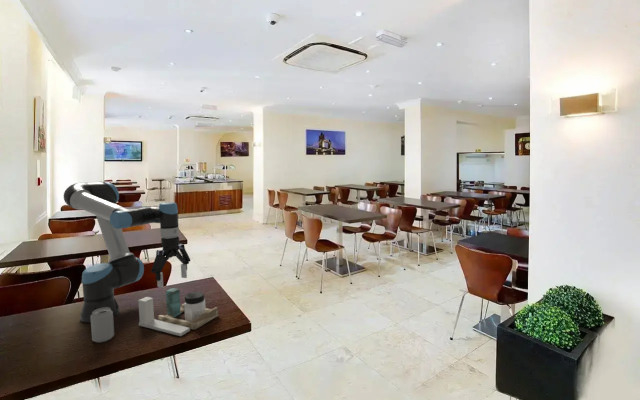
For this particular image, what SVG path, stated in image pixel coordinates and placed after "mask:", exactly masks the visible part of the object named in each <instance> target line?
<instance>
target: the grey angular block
mask: <svg viewBox="0 0 640 400" xmlns="http://www.w3.org/2000/svg"><path fill="white" fill-rule="evenodd" d="M154 309H155V308H154V298H153V297H150V296H145V297H143V298H140V299H138V315H139V316H138V317H139V322H138V326H139V327H142V328H143V327H144V328H148V329H152V330H155V331H158V332H163V333H167V334H171V335H174V336H179V337H182V336H184V335H186V333H188V332H190V331H191V329H190V328H188V327H184V326H180V325H176V324H172V323H168V322H163V321H159V319H156V318H155V312H154V311H155V310H154Z"/></svg>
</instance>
